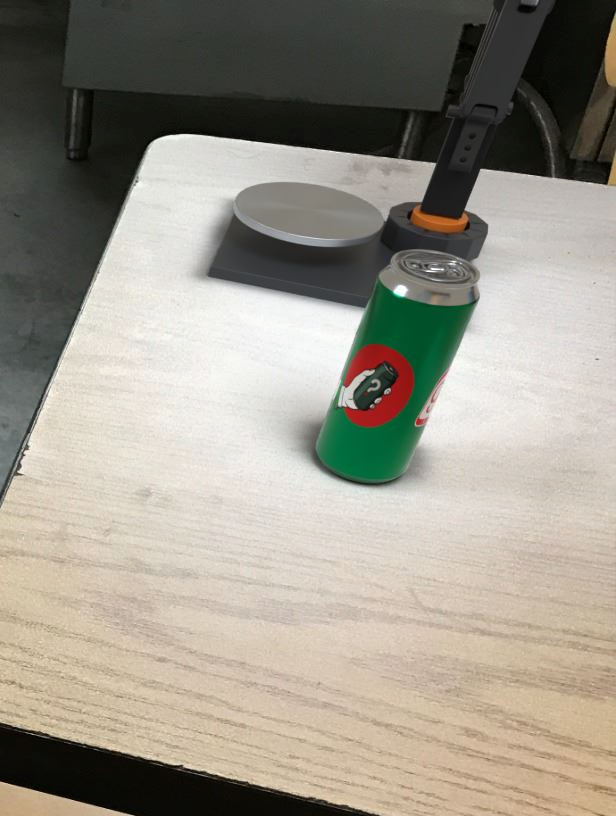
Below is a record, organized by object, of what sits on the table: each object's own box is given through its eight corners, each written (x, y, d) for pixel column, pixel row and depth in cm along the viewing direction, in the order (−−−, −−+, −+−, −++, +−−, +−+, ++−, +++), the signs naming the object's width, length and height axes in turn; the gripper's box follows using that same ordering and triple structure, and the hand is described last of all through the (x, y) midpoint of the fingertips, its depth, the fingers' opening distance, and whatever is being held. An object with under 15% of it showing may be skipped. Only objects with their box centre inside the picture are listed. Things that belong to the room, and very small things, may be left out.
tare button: (460, 233, 97) (469, 209, 96) (457, 252, 95) (467, 228, 94) (406, 223, 98) (415, 200, 97) (403, 242, 96) (411, 218, 95)
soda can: (412, 493, 76) (499, 292, 68) (319, 483, 76) (394, 282, 68) (395, 446, 80) (475, 250, 72) (306, 436, 80) (375, 241, 72)
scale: (470, 258, 99) (489, 212, 97) (461, 341, 90) (482, 292, 87) (236, 215, 104) (249, 169, 102) (204, 289, 95) (217, 240, 92)
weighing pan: (387, 205, 98) (390, 197, 97) (374, 259, 91) (378, 250, 90) (244, 180, 101) (247, 172, 100) (222, 230, 94) (224, 221, 93)
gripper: (523, -204, 85) (392, 169, 101) (520, -169, 76) (376, 234, 92) (657, -192, 83) (501, 188, 99) (669, -155, 74) (496, 257, 90)
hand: (441, 210), depth 95 cm, fingers closed
